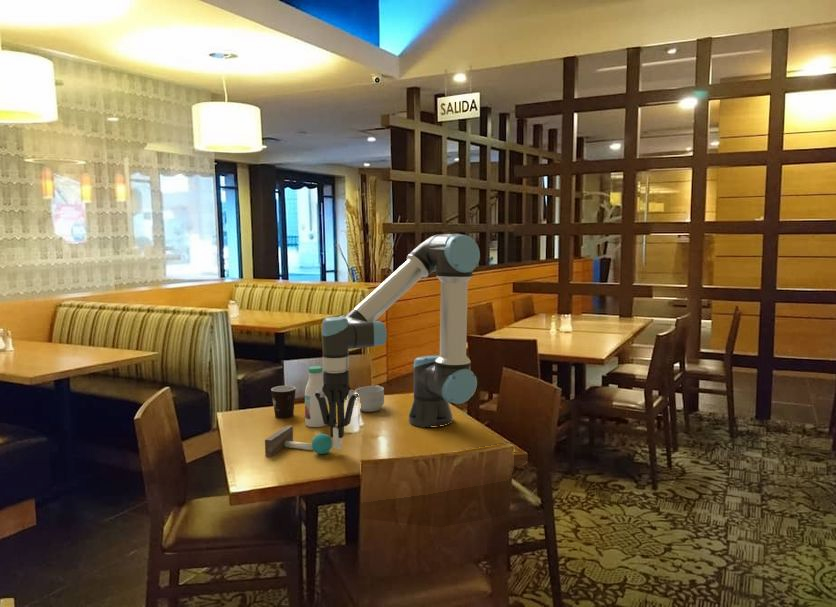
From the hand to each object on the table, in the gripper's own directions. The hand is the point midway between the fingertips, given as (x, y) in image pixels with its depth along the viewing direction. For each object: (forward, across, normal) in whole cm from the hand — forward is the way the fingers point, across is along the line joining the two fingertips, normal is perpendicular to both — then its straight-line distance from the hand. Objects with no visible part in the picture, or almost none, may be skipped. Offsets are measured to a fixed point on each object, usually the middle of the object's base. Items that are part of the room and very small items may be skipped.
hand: (337, 447), depth 189 cm
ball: (-1, +5, +1) cm, 5 cm away
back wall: (+2, +19, 0) cm, 19 cm away
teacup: (+2, +6, -48) cm, 48 cm away
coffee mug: (+2, +33, -30) cm, 45 cm away
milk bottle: (+2, +18, -25) cm, 31 cm away
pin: (+1, +9, -2) cm, 9 cm away
